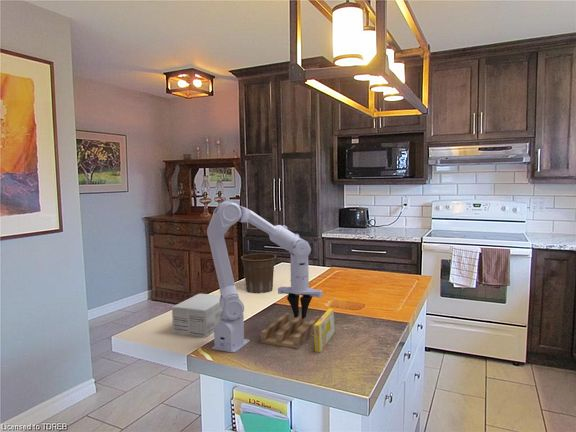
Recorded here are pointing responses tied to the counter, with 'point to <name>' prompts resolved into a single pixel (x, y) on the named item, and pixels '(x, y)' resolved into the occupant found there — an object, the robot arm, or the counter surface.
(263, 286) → the plant pot
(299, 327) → the rack
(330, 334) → the candy box
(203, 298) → the supplement box
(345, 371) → the counter surface
